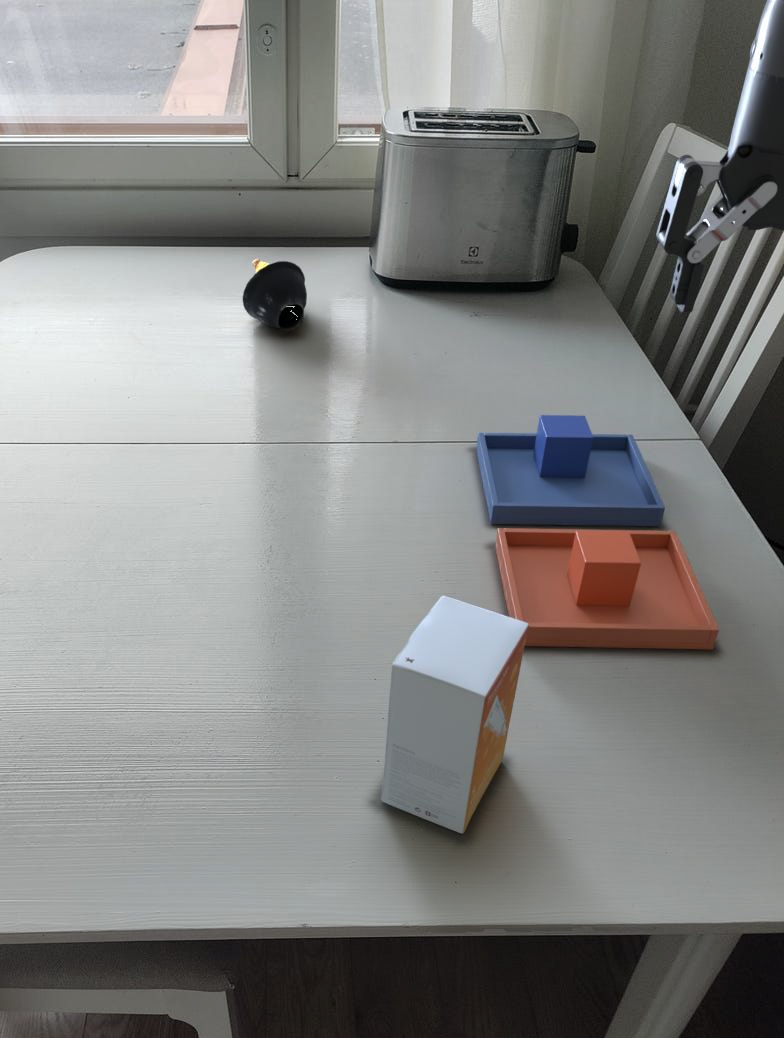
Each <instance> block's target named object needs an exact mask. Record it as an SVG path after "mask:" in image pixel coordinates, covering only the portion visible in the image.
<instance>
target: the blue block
mask: <svg viewBox="0 0 784 1038" xmlns="http://www.w3.org/2000/svg"><path fill="white" fill-rule="evenodd" d="M536 433H537V435H536V441H535V447H534V453H533V455H534V458H535V462H536V465H537V469H538V472H539V476H540V477H568V478H585V476H586V471H587V466H588V461H589V456H590V451H591V447H592V442H593V435H592V434H593V433H592V430H591V428H590V425H589V422H588V420H587V418H586V415H574V414H573V415H572V414H571V415H567V414H566V415H564V414H563V415H562V414H561V415H560V414H540V415H539V417H538V424H537V429H536Z"/></svg>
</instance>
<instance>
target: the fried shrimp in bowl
mask: <svg viewBox="0 0 784 1038" xmlns="http://www.w3.org/2000/svg"><path fill="white" fill-rule="evenodd" d="M251 263H252V266H253V267H254V269H255V274H253V276H252V277H250V278H249V280H248V281H247V283H246V285H245V288H244V290H243V293H242V306H243V308H244V311H246V313H247V314H248V315H249V316H250V317H252V318H253V319H256V320H258V321H259V322H260V323H262V324H263V325H265V326H266V327H271V328H279V329H280V331H281V330H282V331H284V332H286V331H292V330H294V329H296V328H298V327H300V325H302V324H303V323H304V320H305V308H306V306H307V299H308V293H307V287H306V278H305V277H306V276H305V274H304V272H303V270H302V268H301V267H300V266H299V265H297V264H296V263H294V262H292V261H286V260H278V261H275V262H272V263H269V262H265V261H263V260H262V258H255V259H253V261H252V262H251ZM286 306H295V307H294V308H293V307H286ZM291 310H292V312H294V313H295V314H296V315H297V316H298V317H297V316H296V315H294V314H293V313H292V312H290V311H291ZM296 319H297V320H296Z"/></svg>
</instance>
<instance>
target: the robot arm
mask: <svg viewBox="0 0 784 1038" xmlns="http://www.w3.org/2000/svg"><path fill="white" fill-rule="evenodd" d="M762 10H763V11H762V13H761V16H760V19H759V23H758V26H757V30H756V34H755V37H754V40H753V41H752V43H751V47H750V51H749V62H748V65H747V70H746V74H745V78H744V82H743V86H742V90H741V94H740V98H739V102H738V106H737V110H736V113H735V116H734V117H735V118H734V120H733V126H732V130H731V135H730V141H729V144H728V146H727V147H728V148H727V150H726V151H725V153H724V154H723V156H722V158H721V159H720V160H719V161H709V160H696V159H695V158H694V157H693V156H692V155H690V154H684V155H682V156H680V157H678V159H677V161H676V163H675V166H674V170H673V174H672V177H671V181H670V185H669V187H668V191H667V195H666V198H665V202H664V206H663V208H662V209H663V210H662V213H661V216H660V220H659V224H658V227H657V230H656V235H655V237H656V238H655V239H656V240H657V241H658V243H659V244H660V245H661V247H662V249H663V250H664V251H665V253H667V254H668V255H674V256H677V259H676V264H675V269H674V274H673V278H672V280H671V281H672V282H671V286H670V289H669V290H670V298H671V299H672V300H673V302H674V304H675V306H676V307H677V308H678V309H677V310H678V311H679V312H680V313H686V314H687V313H692V312H693V310H694V307H695V304H696V299H697V297H698V296H697V295H698V293H699V291H698V290H699V287H700V283H701V280H702V276H703V271H704V268H705V263H704V262H703V260H704V259H705V258H706V257H707V256H708V255H709V254H710V253H711V252H712V251H713V250H714V249H715V248H716V247H717V246H718V245H720V243H721V242H725V241H727V240H729V238H730V237H732V236H733V235H734V234H735V233H736V232H737V231H738V230H739V229H740V228H741V227H744V228H745V229H746V230H748V231H759V230H765V229H768V228H773V229H776V230H780V231H784V0H766V3H765V5H764V8H763V9H762ZM713 182H716V184H717V186H718V188H719V190H720V193H721V194H719V196H718V197H717V198H716V199H715V200H714V201H713V202H712V203H711V204H710V205H709V206H708V207H707V208H706V209H705V210H704V211H703V213H702V214H701V216H700V219H699V221H697V222H696V223H695V224H694V225H693V226H692V227H691V228H690V229H689V230H688V226H689V223H690V219H691V216H692V213H693V209H694V205H695V202H696V198H697V197H700V196H702V195H703V194H704V193H705V192H706V190H707V189H708V187H709V186H710V184H711V183H713ZM687 230H688V232H687Z"/></svg>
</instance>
